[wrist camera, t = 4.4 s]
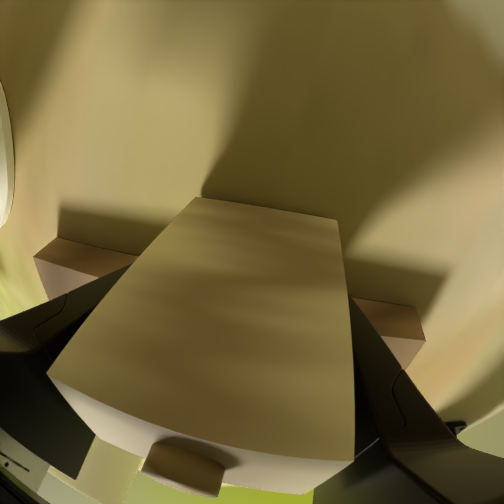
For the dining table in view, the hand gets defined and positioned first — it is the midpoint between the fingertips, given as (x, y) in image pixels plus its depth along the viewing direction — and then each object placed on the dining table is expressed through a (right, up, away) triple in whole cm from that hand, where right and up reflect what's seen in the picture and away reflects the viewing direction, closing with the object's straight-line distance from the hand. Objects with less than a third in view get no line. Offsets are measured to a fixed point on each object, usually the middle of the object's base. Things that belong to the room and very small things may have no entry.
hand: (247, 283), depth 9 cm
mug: (-15, -16, +16) cm, 27 cm away
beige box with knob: (0, -2, +4) cm, 4 cm away
